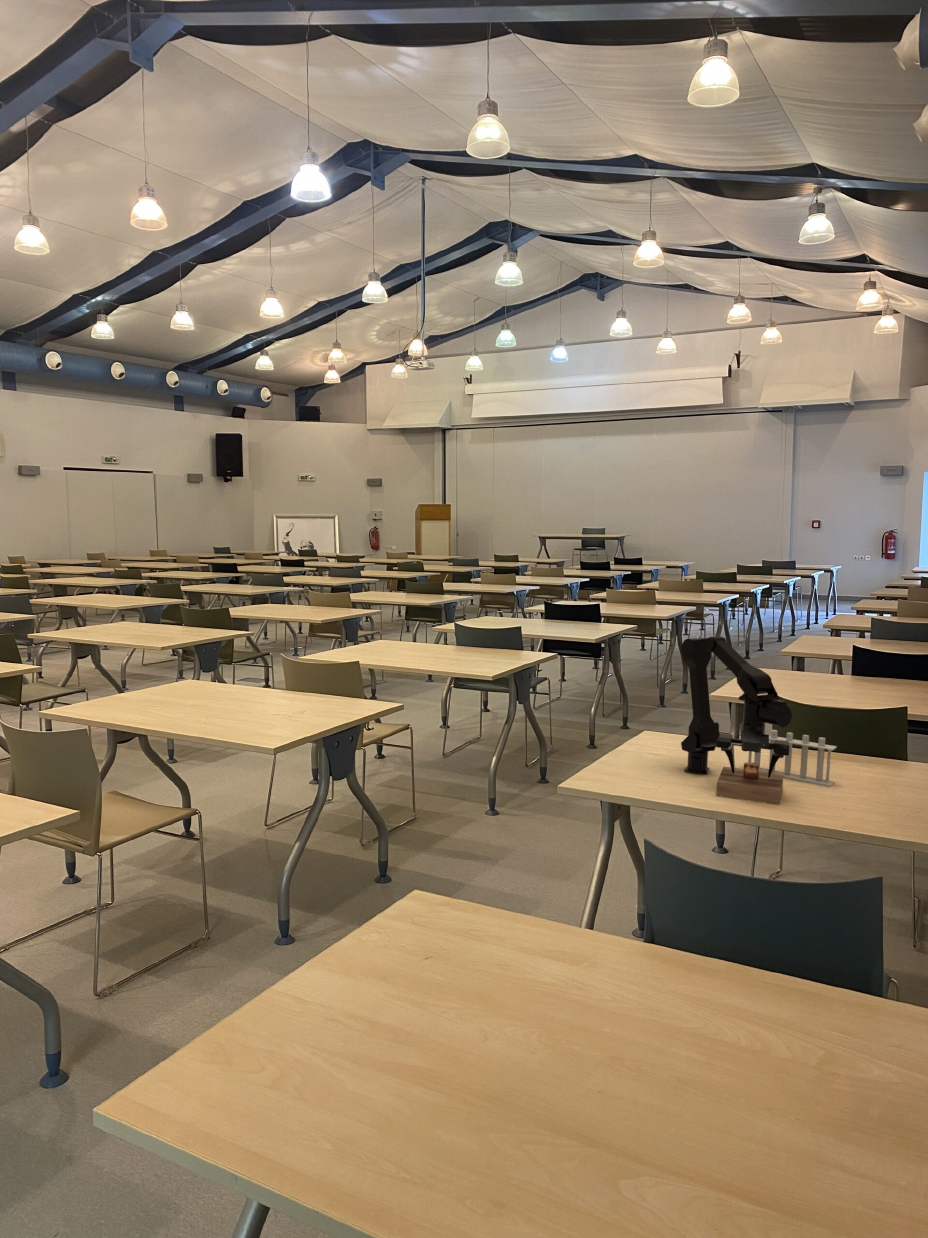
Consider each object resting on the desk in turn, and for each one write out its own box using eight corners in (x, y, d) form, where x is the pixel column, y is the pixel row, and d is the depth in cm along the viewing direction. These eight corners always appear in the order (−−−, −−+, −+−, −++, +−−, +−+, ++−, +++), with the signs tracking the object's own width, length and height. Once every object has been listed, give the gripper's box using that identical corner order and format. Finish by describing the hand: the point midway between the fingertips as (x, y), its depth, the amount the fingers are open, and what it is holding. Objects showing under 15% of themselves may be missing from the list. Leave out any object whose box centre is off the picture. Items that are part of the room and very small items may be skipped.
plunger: (743, 788, 230) (744, 761, 229) (758, 790, 229) (759, 763, 228) (741, 792, 227) (743, 765, 226) (757, 794, 225) (758, 767, 224)
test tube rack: (834, 784, 237) (837, 738, 235) (830, 787, 233) (833, 741, 232) (746, 767, 252) (749, 724, 251) (741, 770, 248) (744, 727, 247)
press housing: (722, 780, 238) (723, 766, 238) (782, 788, 232) (783, 774, 231) (716, 796, 223) (717, 781, 223) (779, 804, 217) (780, 790, 217)
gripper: (715, 721, 222) (712, 778, 223) (790, 729, 214) (786, 788, 216) (719, 713, 232) (716, 767, 234) (791, 720, 225) (787, 776, 226)
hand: (750, 775), depth 227 cm, fingers open, 9 cm apart
